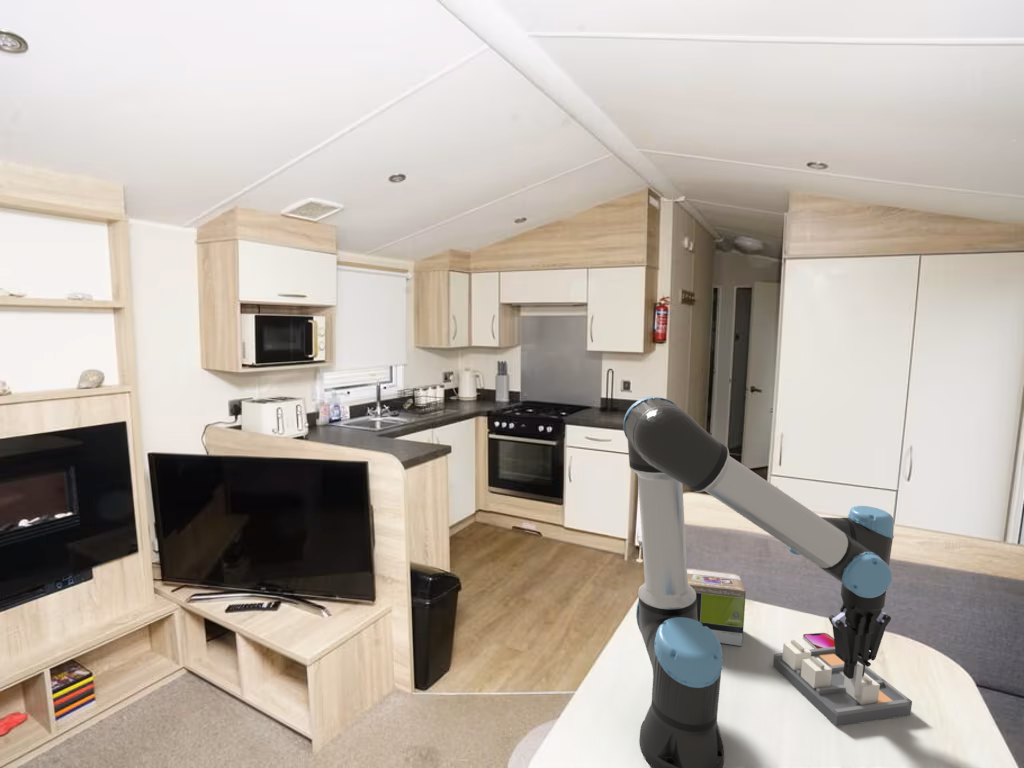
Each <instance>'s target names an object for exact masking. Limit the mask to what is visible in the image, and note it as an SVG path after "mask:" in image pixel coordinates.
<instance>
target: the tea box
mask: <svg viewBox="0 0 1024 768" xmlns="http://www.w3.org/2000/svg"><path fill="white" fill-rule="evenodd" d="M687 578H688V584H689V585H690V586H691V587H692V588H693V589H694V590H695V592H696V600H697V617H698V622H700V623H702V625H703V626H707V627H708V628H710V629H711V630H712V631H713V632H714V633H715V635H716V636H717V638H718V639H719V641H720V644H725V645H731V646H739V647H742V646H743V641H744V638H743V637H744V626H745V625H744V624H745V611H746V610H745V609H746V593H747V592H746V590H745V587H744V584H743V582H742V579H741V577H740V574H739V573H735V572H734V573H733V572H723V571H714V570H707V569H698V568H689V567H687Z"/></svg>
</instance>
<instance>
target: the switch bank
mask: <svg viewBox="0 0 1024 768" xmlns="http://www.w3.org/2000/svg"><path fill="white" fill-rule="evenodd" d="M809 650H810V651H811V656H814V657H815V658H819V659H820V660H821V661H823V662H824V663H825V664H826V665H827V666H829V667H830V668H831V669H832V674H831V682H830V686H829V687H822V688H813V687H812V686H811V685H810V684H808V683H807V682H806V681H805V680H804V679H803V678H802V677H801V670H793V669H792V668H791V667H790V666H789V665H788V664H787V663H786V662H784V661H783V660H782V655H783V652H777V653H774V654H773V662H772V667H773V668H774V669H775V670H776V671H777V672H778V673H779V674H780V675H782V677H783V678H784V679H785V680H786V681H787V682H789V684H791V685H792V686H793V687H794V688H795V689H796V690H797V691H798V692H799V693H800V694H801V695H802V696H804V698H805V699H806V700H807V701H809V702H810V704H811V705H813V706H814V707H815V708H816V709H817V710H818V711H819V712H820V713H821V714H822V715H823V716H824V717H825V718H826V719H827V720H828V721H829V722H830V723H831V724H832V725H833V726H835V727H836V728H837V727H843V726H848V725H849V726H851V725H858V724H862V723H868V722H875V721H883V720H889V719H895V718H903V717H909V716H911V713H912V705H913V701H912V700H911V699H910V698H909V697H907V695H905V694H903V693H902V692H901V691H899V690H898V689H896V688H895V687H894V686H893V685H892V684H891V683H889V682H888V681H887V680H885V679H884V678H883V677H882V676H880V675H878V674H877V673H876V672H875V671H873V670H872V669H871V668H869V667H867V666H866V665H865V672H864V673H866V674H867V675H868V676H869V677H871V678H872V679H873V680H874V681H876V682H877V683H878V684H880V688H879V696H878V703H871V704H864V705H861V704H860V703H859V702H857V701H856V700H855V699H854V698H853V697H852V696H850V695H849V694H848V693H847V692H846V688H845V687H844V679H845V675H844V673H843V671H844V662H843V661H842V660H841V659H840V658H838V657H837V656H836V651H835V647H828V648H819V649H814V648H813V649H809Z"/></svg>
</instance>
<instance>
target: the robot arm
mask: <svg viewBox="0 0 1024 768" xmlns="http://www.w3.org/2000/svg"><path fill="white" fill-rule="evenodd" d="M622 428H623V432H624V435H625V437H626V439H627V447H628V448H627V449H628V450H627V451H628V460H629V461H628V463H629V468H630V470H631V471H632V472H634V473H635V474H636V475H637V482H638V483H637V484H638V497H639V512H640V513H639V514H640V525H641V526H640V528H641V541H642V542H641V543H642V557H643V559H642V560H643V575H644V583H642V584H641V585H640V586H639V588H638V591H637V592H638V593H637V596H638V601H637V605H636V611H635V612H636V614H635V615H636V616H635V617H636V623H637V626H638V629H639V632H640V634H641V636H642V640H643V643H644V645H645V648H646V651H647V654H648V658H649V660H650V664H651V667H652V675H653V676H652V689H651V690H652V692H651V704H650V706H649V708H648V710H647V713H646V715H645V717H644V720H643V721H642V723H641V724H640V725H641V726H640V728H639V729H640V730H639V748H640V752H641V754H642V755H643V757H644V758H645V761H647V762H648V764H649V765H650V766H651V767H652V768H724V762H725V747H724V743H723V738H722V735H721V731H720V728H719V727H720V726H719V723H718V710H719V709H718V708H719V701H720V700H719V699H720V698H719V697H720V689H721V687H720V686H721V680H722V679H721V677H722V670H723V665H724V664H723V649H722V648H723V647H722V645H721V644H722V643H720V641H719V639H718V638H717V636H716V635H715V633H714V632H713V631H712V630H711V629H710V628H708V627H707V626H703V625H702V623H700V622H698V617H697V600H696V592H695V590H694V589H693V588H692V587H691V586H690V585H689V584H688V578H687V568H688V565H687V564H688V563H687V562H688V561H687V545H686V543H687V542H686V527H685V526H686V525H685V508H684V507H685V506H684V490H683V489H684V488H683V485H684V486H686V487H687V488H689V489H691V490H692V491H693V492H694V493H704V492H706V493H707V494H709V495H710V496H711V497H713V498H715V499H716V500H717V501H718V502H721V503H722V504H723V505H725V506H726V507H728V508H730V509H731V510H732V511H734V512H736V513H737V514H738V515H740V516H742V517H743V518H745V519H747V521H749V522H751V523H752V524H754V525H755V526H757V527H758V528H760V529H761V530H763V531H764V532H766V533H767V534H769V535H770V536H772V537H773V538H775V539H776V540H778V541H780V543H783V545H785V546H786V548H787V549H788V551H789V552H790V553H791V554H793V555H797V556H798V555H800V556H802V557H804V558H805V559H806V560H809V561H810V562H811V563H813V564H814V565H816V566H817V567H819V568H820V569H821V570H823V571H824V572H825V573H827V574H829V575H830V576H832V577H833V578H834V579H836V580H837V581H839V583H841V589H840V597H841V598H842V605H841V607H840V608H839V609H840V611H839V612H840V613H839V614H837V615H836V616H834V615H832V614H831V615H829V616H828V620H829V622H830V624H831V625H832V635H833V638H834V643H835V651H836V656H837V657H838V658H840V659H841V660H842V661H843V662H844V671H843V673H844V675H845V679H844V687H845V688H846V689H847V690H848V691H849V692H850V693H852V694H853V695H860V691H861V682H862V677H863V676H864V672H865V665H866V666H867V667H868V668H869V667H870V666H871V665H872V663H871V662H870V660H871V661H875V660H876V658H877V654H878V652H879V649H880V646H881V644H882V640H883V637H884V633H885V632H886V627H887V626H889V625H888V624H890V622H891V620H892V618H891V616H890V615H888V614H887V613H885V612H884V611H882V609H884V607H885V604H886V596H887V590H888V588H890V586H891V584H892V581H893V580H892V579H893V574H892V570H891V567H890V561H891V556H892V555H891V553H892V546H893V539H894V538H895V537H894V530H895V529H894V528H895V525H894V523H895V522H894V518H893V516H892V514H891V513H889V512H888V511H886V510H883V509H880V508H878V507H873V506H867V505H856V506H853V507H851V508H850V509H849V511H848V512H849V513H848V515H847V517H829V516H828V517H826V516H820V515H818V514H817V513H816V512H814V511H812V510H811V509H809V508H808V507H806V506H805V505H804V504H802V503H801V502H798V501H797V500H795V499H794V498H793V497H791V496H790V495H788V494H787V493H786V492H785V491H782V490H781V489H780V488H778V487H777V486H775V485H774V484H772V483H771V482H770V481H767V480H766V479H764V478H763V477H761V476H760V475H759V474H757V473H755V472H754V471H753V470H751V469H750V468H748V467H747V466H746V465H743V464H742V462H740V461H738V460H736V459H735V458H733V457H732V456H730V451H729V448H728V447H727V446H726V445H724V444H723V443H722V442H721V441H719V440H717V439H716V438H715V437H714V436H713V435H711V434H710V433H709V432H708V431H706V430H705V429H704V428H703V427H702V426H701V425H700V424H699V423H698V422H697V421H696V420H695V419H694V418H693V417H692V416H691V415H690V414H688V412H686V411H685V410H683V409H681V408H680V407H679V406H678V405H677V404H676V403H674V402H673V401H671V400H670V399H668V398H665V397H661V396H660V397H659V396H647V397H643V398H640V399H638V400H636V402H634V403H633V404H631V406H630V407H629V408H628V409H627V410H626V413H625V415H624V418H623V427H622Z"/></svg>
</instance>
